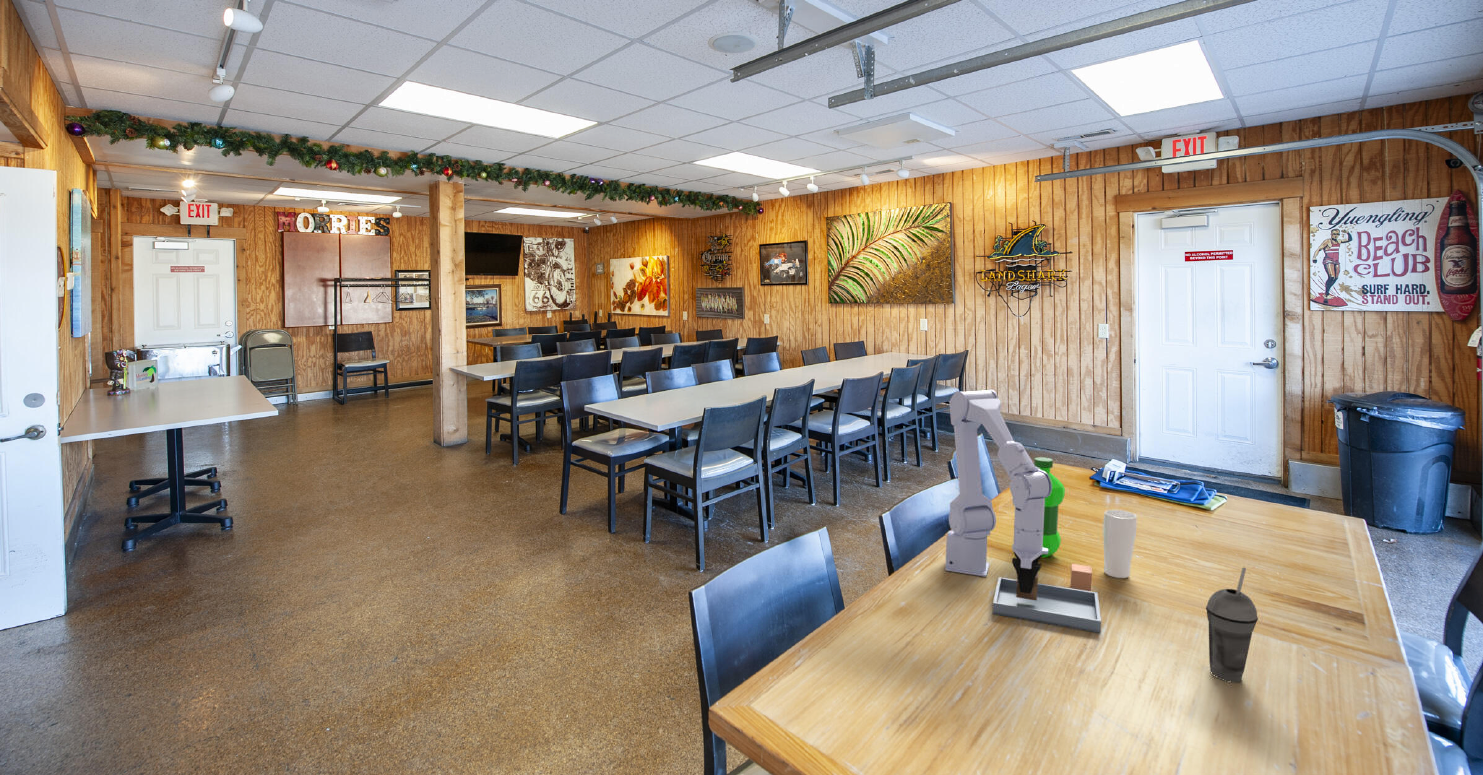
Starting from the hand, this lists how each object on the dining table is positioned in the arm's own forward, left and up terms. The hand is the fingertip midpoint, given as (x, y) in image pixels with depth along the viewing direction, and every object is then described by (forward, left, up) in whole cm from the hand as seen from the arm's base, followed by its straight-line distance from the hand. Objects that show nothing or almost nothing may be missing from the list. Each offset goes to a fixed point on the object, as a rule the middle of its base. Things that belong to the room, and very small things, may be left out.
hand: (1025, 588), depth 143 cm
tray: (+4, 0, -4) cm, 6 cm away
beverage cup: (+33, -15, -4) cm, 36 cm away
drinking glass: (+19, +25, -4) cm, 32 cm away
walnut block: (0, 0, -2) cm, 2 cm away
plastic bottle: (+2, +32, -4) cm, 33 cm away
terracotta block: (+11, +13, -4) cm, 18 cm away
